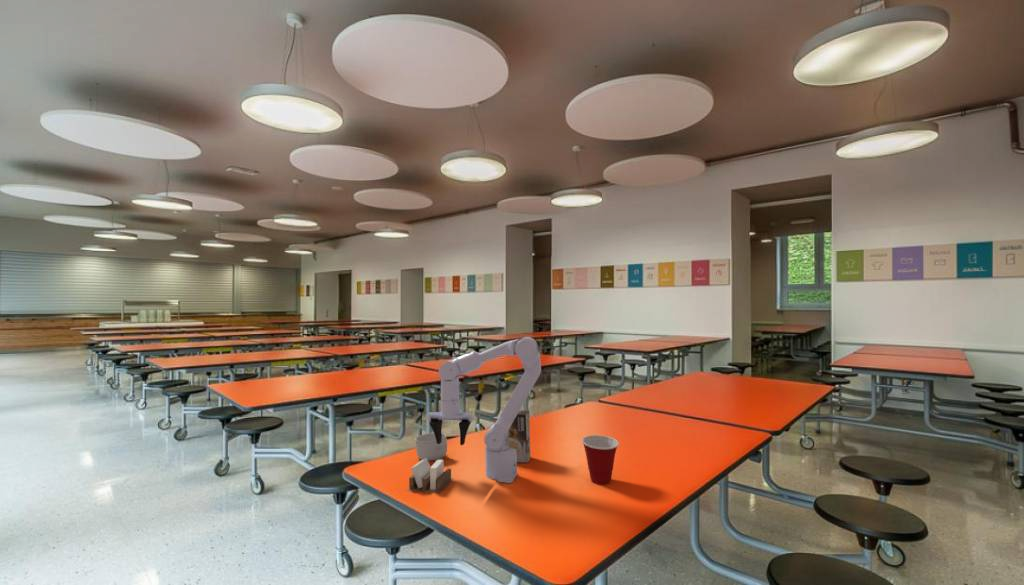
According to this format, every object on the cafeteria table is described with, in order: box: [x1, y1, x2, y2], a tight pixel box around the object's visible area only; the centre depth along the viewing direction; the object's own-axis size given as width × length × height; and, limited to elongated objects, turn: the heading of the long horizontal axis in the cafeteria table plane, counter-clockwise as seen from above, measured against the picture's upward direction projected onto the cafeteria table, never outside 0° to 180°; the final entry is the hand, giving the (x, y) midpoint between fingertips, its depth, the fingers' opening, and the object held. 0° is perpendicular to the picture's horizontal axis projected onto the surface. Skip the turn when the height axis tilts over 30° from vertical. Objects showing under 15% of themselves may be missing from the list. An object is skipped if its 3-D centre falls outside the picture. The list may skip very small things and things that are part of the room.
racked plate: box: [410, 458, 431, 489], centre depth 125 cm, size 2×7×6 cm, turn 167°
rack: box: [405, 468, 454, 494], centre depth 125 cm, size 10×11×4 cm
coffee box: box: [506, 409, 532, 464], centre depth 148 cm, size 9×6×16 cm
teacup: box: [414, 432, 448, 462], centre depth 150 cm, size 14×11×8 cm
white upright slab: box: [430, 459, 445, 490], centre depth 124 cm, size 2×7×6 cm, turn 173°
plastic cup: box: [581, 434, 620, 485], centre depth 127 cm, size 11×11×12 cm
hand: (450, 443), depth 133 cm, fingers open, 7 cm apart
